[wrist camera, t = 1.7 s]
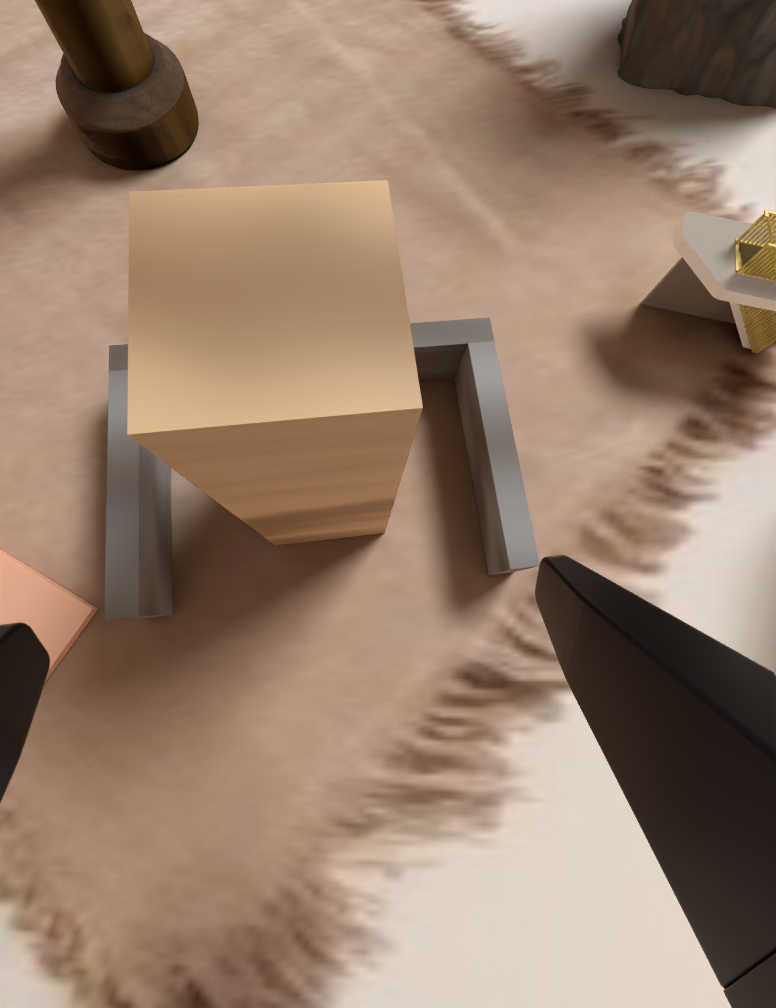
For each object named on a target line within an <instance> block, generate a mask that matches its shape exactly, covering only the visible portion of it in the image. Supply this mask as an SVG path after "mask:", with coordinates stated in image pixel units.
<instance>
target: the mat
mask: <svg viewBox="0 0 776 1008" xmlns="http://www.w3.org/2000/svg"><path fill="white" fill-rule="evenodd" d="M97 610H98V609H97V608H96V607H94V606H93V605H91V604H89V603H88V602H86V601H84V600H83V599H81V598H79V597H78V596H76V595H74V594H73V593H71V592H70V591H68V590H66V589H65V588H63V587H61V586H60V585H58V584H56V583H55V582H53V581H51V580H50V579H48V578H47V577H45V576H43V575H42V574H40V573H38V572H37V571H35V570H33V569H32V568H30V567H28V566H27V565H25V564H24V563H22V562H20V561H19V560H17V559H15V558H14V557H12V556H10V555H9V554H7V553H5V552H4V551H2V550H0V625H2V624H10V623H18V622H21V623H25V624H27V625H29V626H30V627H31V628H32V630H33V631H34V633H35V634H36V636H37V637H38V639H39V640H40V642H41V643H42V644H43V646H44V647H45V649H46V650H47V652H48V654H49V657H50V667H49V671H48V674H47V677H46V680H45V683H46V681H47V680H48V678H49V677H50V676H51V674H52V673H53V671H54V670H55V669H56V667H57V666H58V665H59V663H60V662H61V660H62V659H63V658H64V656H65V655H66V653H67V652H68V651H69V649H70V648H71V646H72V645H73V644H74V642H75V641H76V639H77V638H78V637H79V635H80V634H81V632H82V631H83V630H84V628H85V627H86V625H87V624H88V623H89V621H90V620H91V618H92V617H93V616H94V614H95V613H96V611H97ZM45 683H44V684H45Z"/></svg>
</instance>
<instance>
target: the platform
mask: <svg viewBox="0 0 776 1008" xmlns="http://www.w3.org/2000/svg"><path fill="white" fill-rule="evenodd" d="M769 214H770V215H769ZM772 215H774V216H773V217H772V218H771V219H770V217H771V216H772ZM765 217H766V218H765ZM764 218H765V219H764ZM775 218H776V212H773V211H769V210H765V211H764V214H763V215H762V216H761V217H760V218H759V219H758V220H757V221H756V222H755V223H754V224H750V223H745V222H740V221H736V220H731V219H726V218H721V217H717V216H712V215H707V214H702V213H698V212H688V213H686V214H685V215H684V216H683V218H682V219H681V220H680V221H679V222H678V224H677V225H676V227H675V248H676V249H677V251H678V252H679V253H680V255H681V256H682V258H681V259H680V260H679V261H678V262H677V264H676V265H675V266H674V267H673V268H672V269H671V270H670V271H669V272H668V273H667V274H666V276H665V277H664V278H663V279H662V280H661V281H660V282H659V283H658V284H657V285H656V287H655V288H654V289H653V290H652V291H651V292H650V293H649V294H648V295H647V296H646V298H645V299H644V300H643V301H642V305H647V306H652V307H656V308H661V309H666V310H671V311H676V312H681V313H685V314H690V315H695V316H700V317H705V318H710V319H714V320H719V321H724V322H729V323H734V324H736V326H737V329H738V332H739V336H740V339H741V342H742V346H743V347H744V348H749V349H752V353H753V352H755V353H758V352H759V351H761V350H762V349H764V348H766V347H767V346H769V345H770V344H772V343H773V342H775V341H776V229H775V228H776V224H775V223H776V219H775ZM763 219H764V220H763ZM774 219H775V220H774ZM762 220H763V221H762ZM773 220H774V221H773ZM761 221H762V222H761ZM766 221H767V223H766V224H765V225H763V224H764V223H765V222H766ZM772 221H773V222H772ZM760 222H761V223H760ZM770 222H772V223H770ZM759 223H760V224H759ZM758 224H759V225H758ZM774 224H775V225H774ZM762 225H763V226H762ZM773 225H774V226H773ZM766 226H768V227H766ZM772 226H773V227H772ZM771 227H772V228H771ZM760 329H761V330H760ZM763 330H764V331H763ZM771 331H772V332H771ZM760 332H761V333H760ZM765 332H766V333H765ZM774 332H775V333H774ZM768 333H769V334H768ZM762 334H763V335H762ZM771 334H772V335H771ZM765 335H766V336H765ZM759 336H760V337H759ZM768 336H769V337H768ZM762 337H763V338H762ZM765 338H766V339H765ZM759 339H760V340H759ZM773 339H774V340H773ZM770 341H771V342H770ZM759 348H760V349H759Z"/></svg>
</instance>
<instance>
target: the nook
mask: <svg viewBox="0 0 776 1008" xmlns="http://www.w3.org/2000/svg"><path fill="white" fill-rule="evenodd" d="M410 328H411V334H412V341H413V347H414V354H415V360H416V367H417V373H418V379H419V381H424V380H436V379H447V378H454V379H455V385H456V391H457V397H458V402H459V408H460V414H461V419H462V425H463V431H464V436H465V442H466V448H467V454H468V459H469V465H470V471H471V476H472V482H473V488H474V493H475V499H476V505H477V511H478V516H479V522H480V528H481V533H482V539H483V545H484V550H485V556H486V562H487V568H488V573H489V575H495V574H503V573H511V572H517V571H521V570H525V569H529V568H533V567H537V566H539V565H540V564H539V559H538V554H537V549H536V544H535V539H534V534H533V529H532V525H531V520H530V515H529V510H528V505H527V500H526V495H525V490H524V485H523V480H522V475H521V470H520V465H519V460H518V455H517V450H516V445H515V441H514V436H513V431H512V426H511V421H510V416H509V411H508V406H507V401H506V396H505V391H504V386H503V381H502V376H501V371H500V366H499V361H498V356H497V352H496V347H495V342H494V337H493V332H492V327H491V322H490V318H479V319H465V320H452V321H438V322H424V323H411V324H410ZM127 418H128V344H126V345H112V346H109V393H108V445H107V496H106V548H105V599H104V620H117V619H144V618H152V617H160V616H168V615H173V601H172V533H171V467H170V466H169V465H167V464H166V463H165V462H163V461H162V460H161V459H159V458H158V457H157V456H155V455H154V454H153V453H151V452H150V451H149V450H147V449H146V448H145V447H143V446H142V445H141V444H139V443H138V442H137V441H135V440H134V439H133V438H131V437H130V436H129V435H127Z"/></svg>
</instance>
